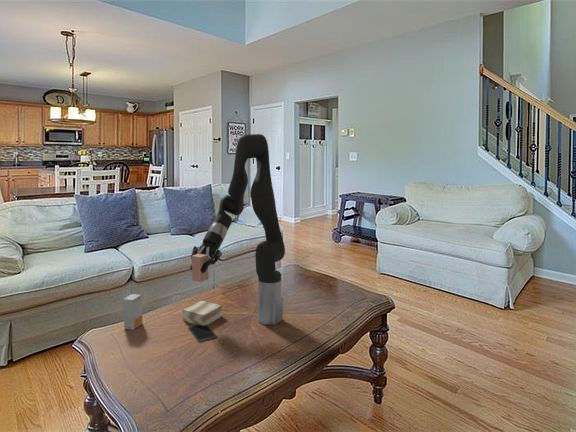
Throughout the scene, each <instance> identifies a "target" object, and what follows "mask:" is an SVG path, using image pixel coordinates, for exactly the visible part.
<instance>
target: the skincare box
mask: <svg viewBox="0 0 576 432" xmlns="http://www.w3.org/2000/svg"><path fill="white" fill-rule="evenodd" d="M122 305H123V310H122V311H123V325H124V329H125V330H132V331H133V330H135V329H136V328H138V327H139V326H141V325H142V324H143V303H142V294H135V293H132V294H130V295H128V296H126V297H124V298H123V299H122Z"/></svg>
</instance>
